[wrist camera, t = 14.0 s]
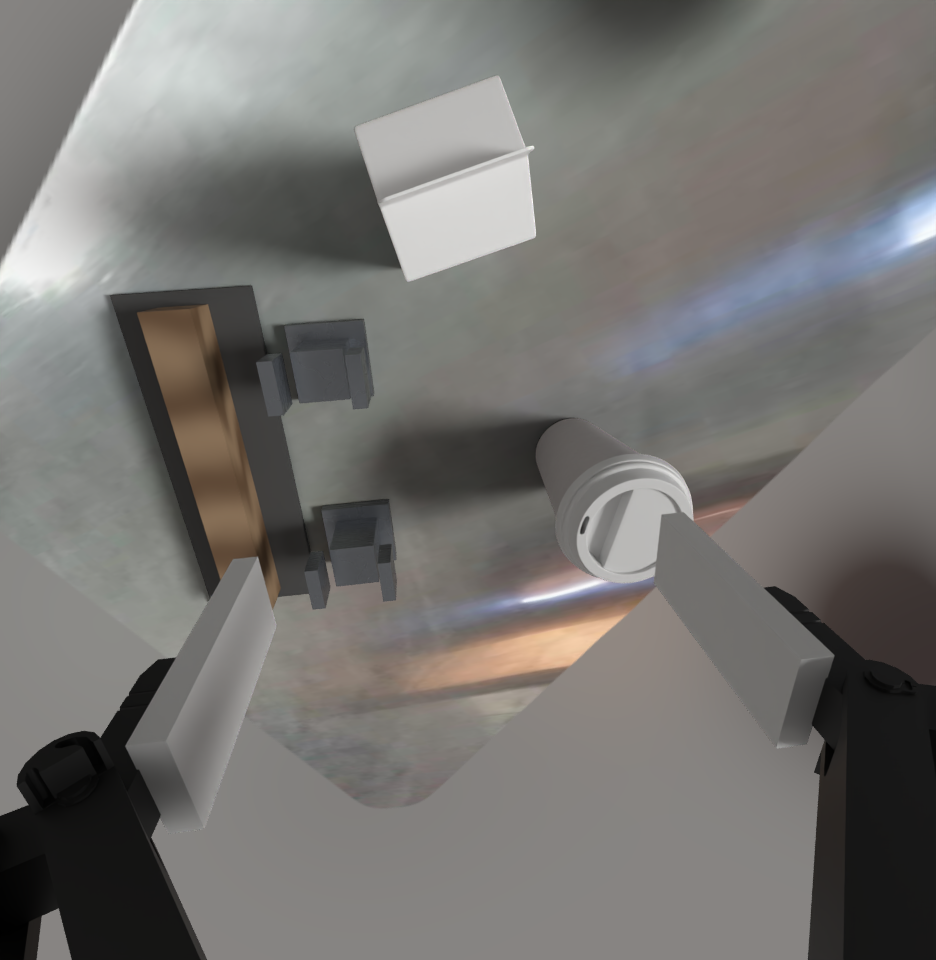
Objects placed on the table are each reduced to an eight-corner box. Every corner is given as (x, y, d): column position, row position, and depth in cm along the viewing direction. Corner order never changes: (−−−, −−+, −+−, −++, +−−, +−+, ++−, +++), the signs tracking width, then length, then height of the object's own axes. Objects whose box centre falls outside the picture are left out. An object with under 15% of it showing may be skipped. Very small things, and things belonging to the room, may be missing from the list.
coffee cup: (563, 380, 44) (631, 437, 30) (640, 437, 47) (735, 512, 33) (498, 466, 47) (534, 554, 33) (575, 515, 50) (638, 613, 36)
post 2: (319, 506, 46) (301, 558, 39) (392, 498, 47) (388, 549, 39) (330, 561, 49) (315, 621, 41) (399, 554, 49) (397, 611, 41)
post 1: (283, 324, 40) (251, 343, 32) (367, 318, 40) (357, 335, 32) (298, 399, 42) (272, 433, 34) (377, 392, 43) (370, 424, 35)
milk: (379, 185, 37) (338, 99, 17) (458, 156, 37) (513, 35, 16) (408, 271, 39) (403, 287, 19) (483, 245, 39) (556, 234, 19)
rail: (159, 307, 38) (136, 312, 35) (207, 304, 38) (189, 308, 35) (243, 592, 49) (232, 616, 46) (280, 588, 49) (271, 611, 46)
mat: (114, 294, 38) (110, 295, 37) (251, 285, 39) (249, 286, 38) (214, 600, 49) (212, 604, 49) (318, 588, 50) (317, 592, 50)
